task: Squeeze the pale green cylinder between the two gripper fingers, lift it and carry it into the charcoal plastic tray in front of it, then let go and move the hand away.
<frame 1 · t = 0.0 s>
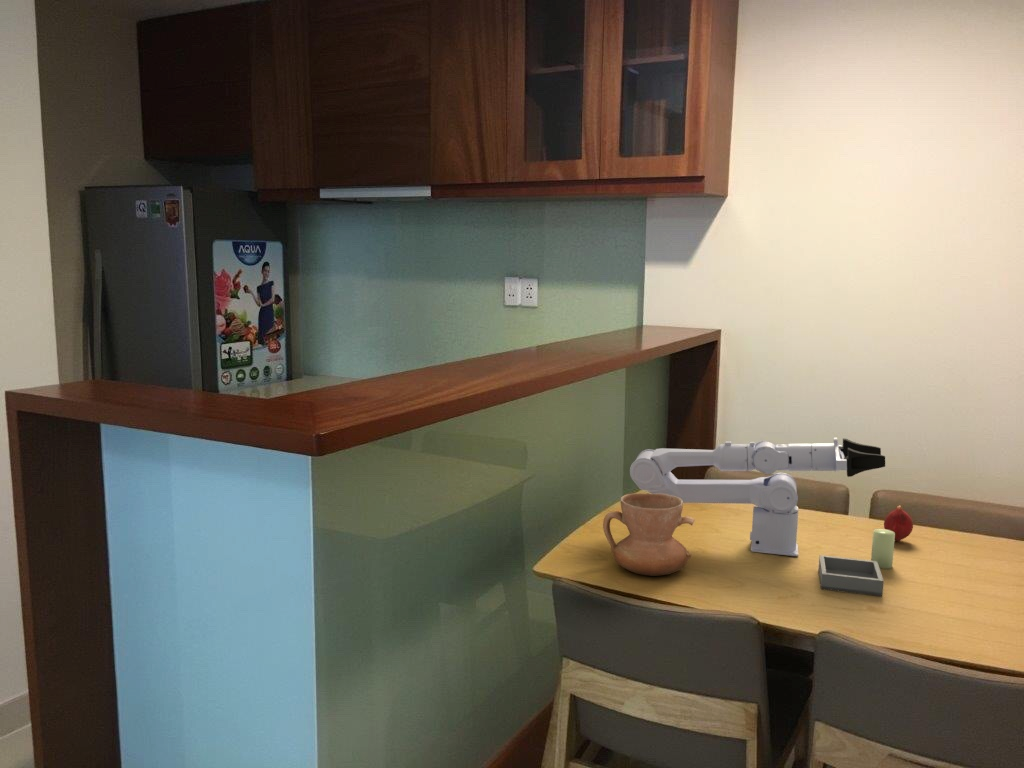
hand: (882, 456, 170), 22 cm above the table, tool horizontal, fingers open, 7 cm apart
pale green cylinder: (881, 565, 170), on the table
onion: (896, 542, 184), on the table
tray: (849, 582, 161), on the table
ceramic jug: (646, 569, 167), on the table
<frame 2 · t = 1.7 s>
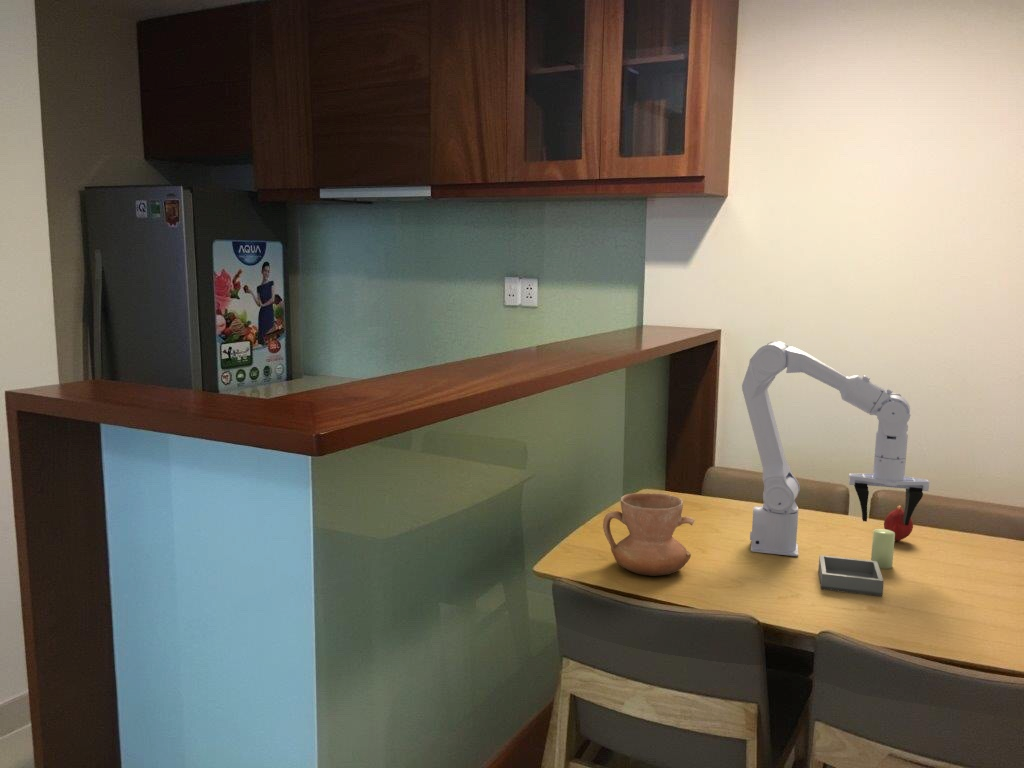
hand: (885, 522, 168), 9 cm above the table, tool pointing down, fingers open, 7 cm apart
nothing on the table moved.
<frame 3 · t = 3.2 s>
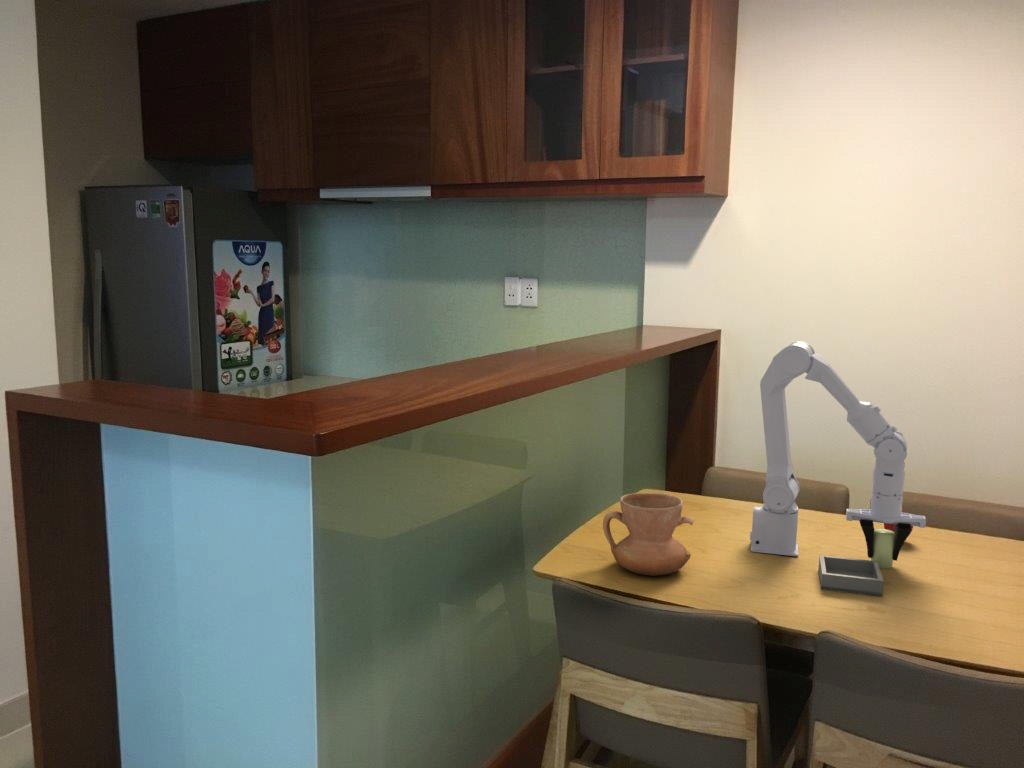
hand: (882, 557, 170), 2 cm above the table, tool pointing down, fingers closed on pale green cylinder, 4 cm apart
pale green cylinder: (881, 565, 170), on the table, touching gripper
everything else where it was.
when the fingers open (4 cm above the table, at t = 7.9 s): pale green cylinder drops 2 cm, resting on tray.
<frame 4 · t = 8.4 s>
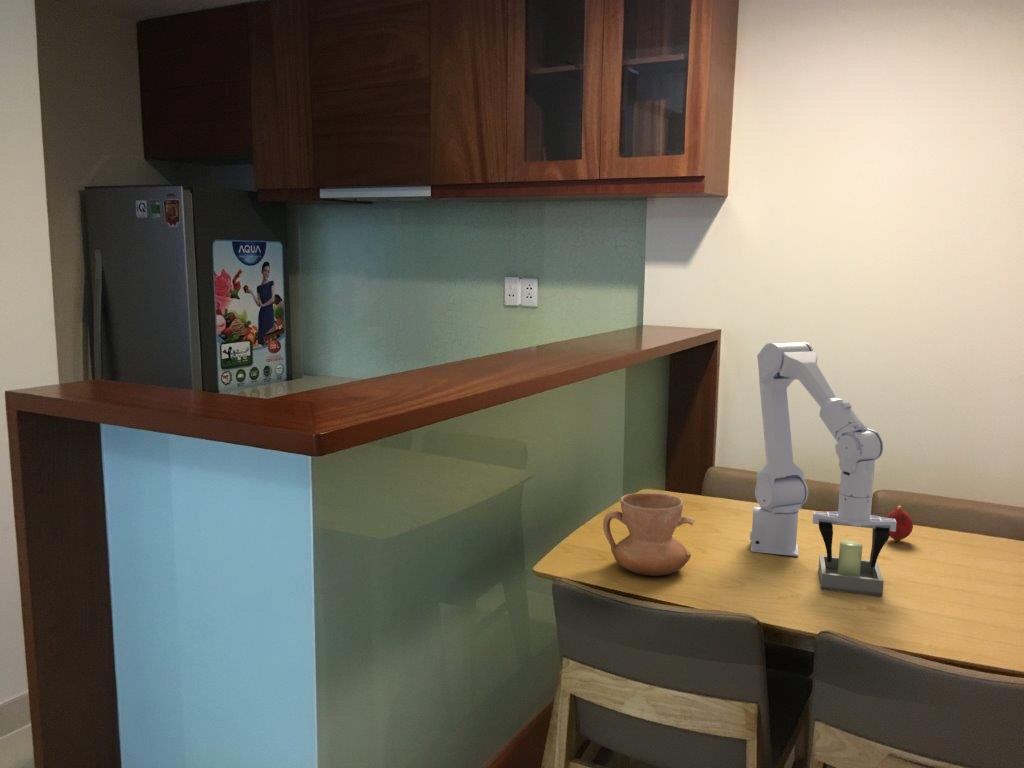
hand: (850, 562, 160), 4 cm above the table, tool pointing down, fingers open, 7 cm apart
pale green cylinder: (848, 579, 161), point 1 cm above the table, touching tray
everything else where it was.
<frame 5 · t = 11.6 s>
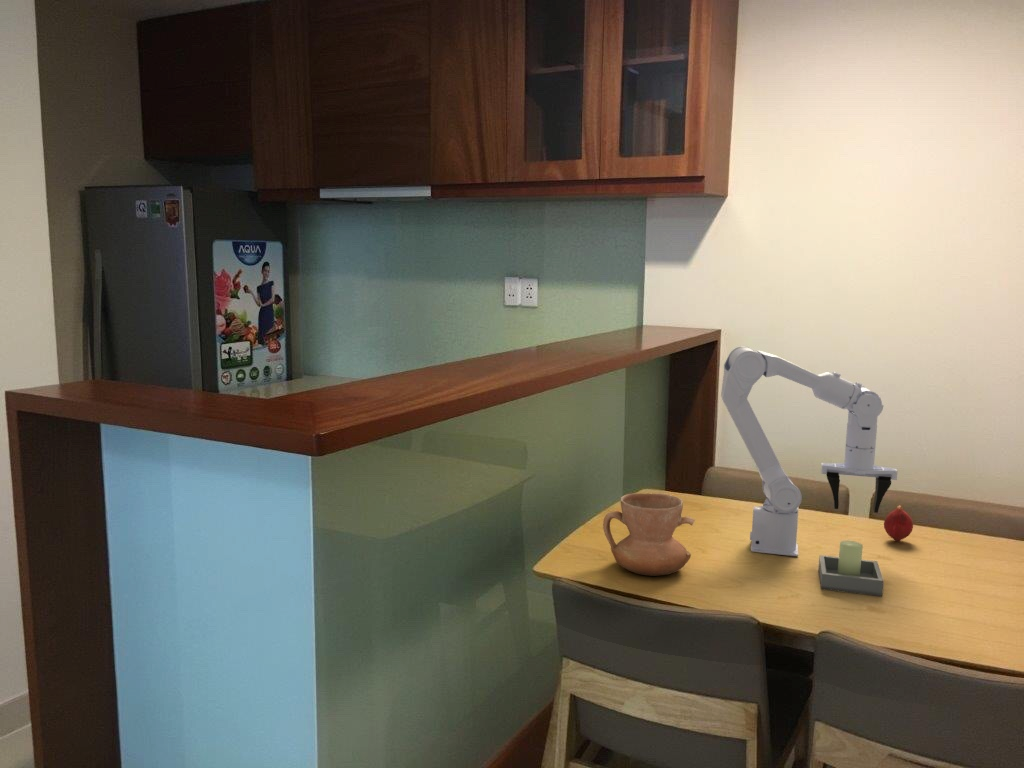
hand: (855, 509, 176), 9 cm above the table, tool pointing down, fingers open, 7 cm apart
nothing on the table moved.
at the end: pale green cylinder 0.2 cm off-centre on the tray, point 0.6 cm above the tray's base; the gripper is holding nothing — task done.
